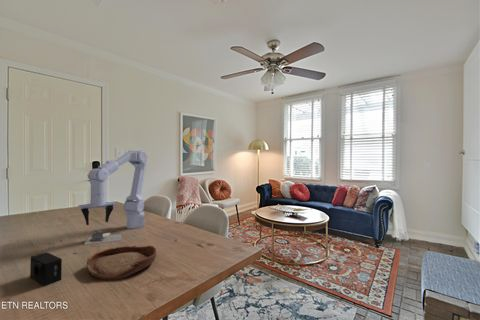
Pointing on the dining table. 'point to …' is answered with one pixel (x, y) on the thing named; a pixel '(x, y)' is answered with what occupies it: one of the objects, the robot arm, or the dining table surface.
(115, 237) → the flange plate
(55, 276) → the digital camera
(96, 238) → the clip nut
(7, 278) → the dining table surface
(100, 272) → the basket
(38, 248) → the dining table surface
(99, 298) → the dining table surface
